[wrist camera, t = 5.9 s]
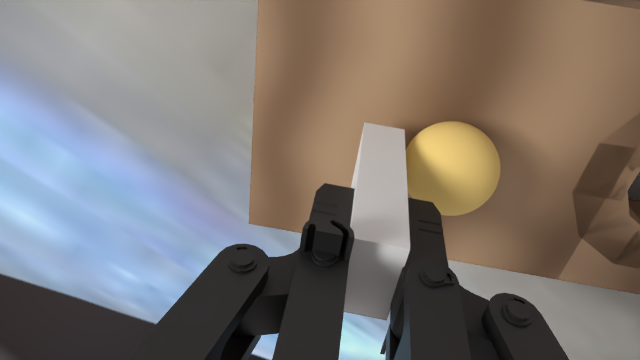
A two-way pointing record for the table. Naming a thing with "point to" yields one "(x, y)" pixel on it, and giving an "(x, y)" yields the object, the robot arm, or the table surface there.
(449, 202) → the ball
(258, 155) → the board
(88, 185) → the table surface
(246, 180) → the table surface
